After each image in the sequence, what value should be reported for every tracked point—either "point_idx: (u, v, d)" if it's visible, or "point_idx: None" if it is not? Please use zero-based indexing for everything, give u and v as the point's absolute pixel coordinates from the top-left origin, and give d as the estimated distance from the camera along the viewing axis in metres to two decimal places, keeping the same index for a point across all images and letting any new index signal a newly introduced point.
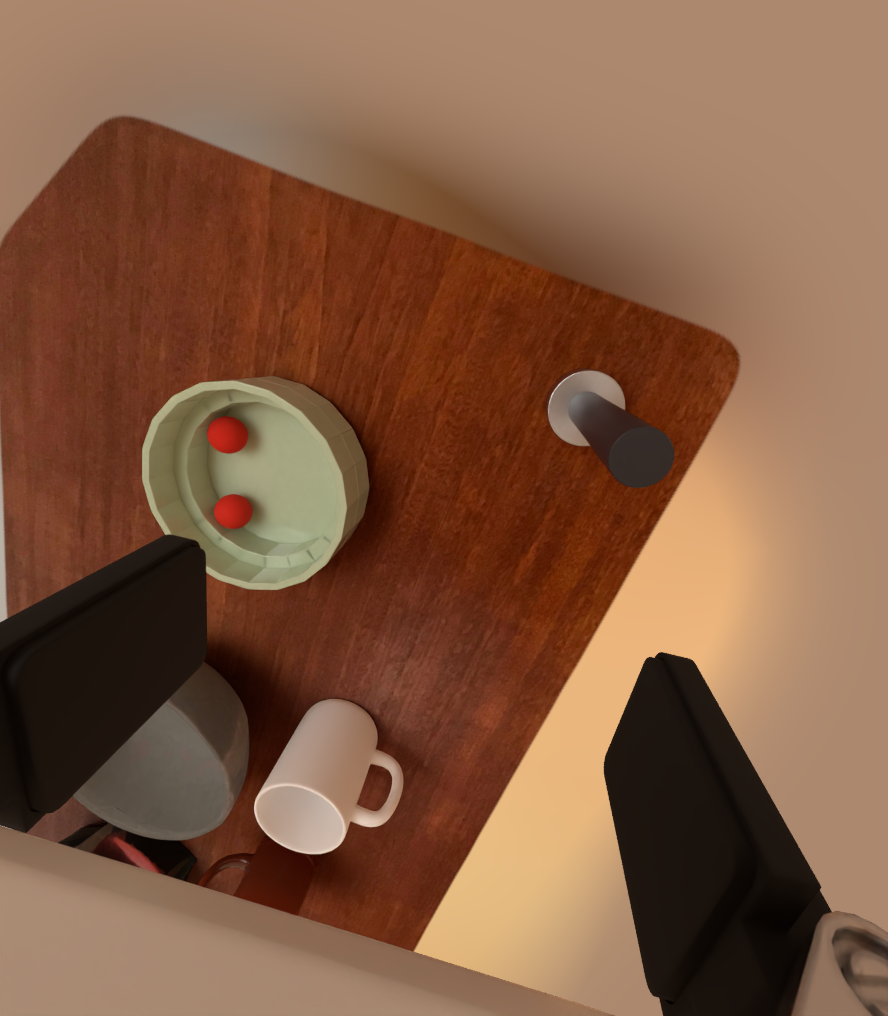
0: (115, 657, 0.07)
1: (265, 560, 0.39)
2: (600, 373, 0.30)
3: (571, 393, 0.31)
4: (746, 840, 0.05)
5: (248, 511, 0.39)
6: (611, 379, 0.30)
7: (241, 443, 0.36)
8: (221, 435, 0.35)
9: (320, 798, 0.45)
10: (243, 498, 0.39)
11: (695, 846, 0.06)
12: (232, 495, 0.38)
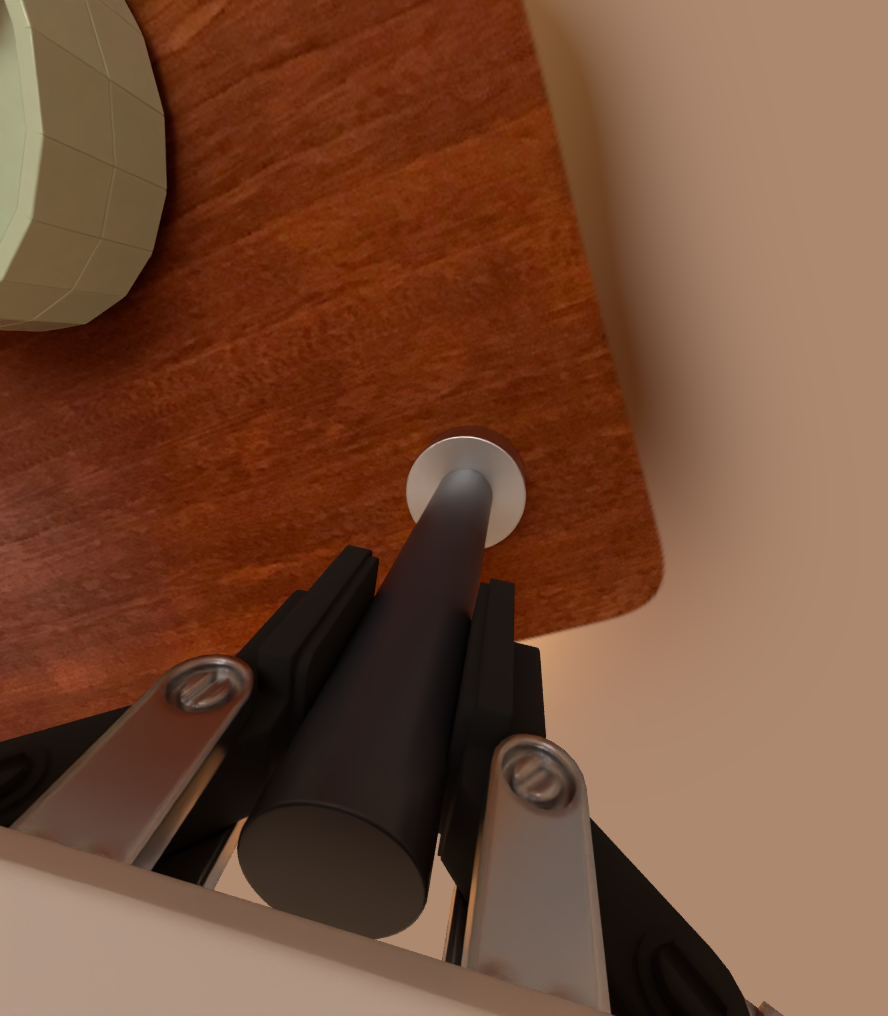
0: (337, 656, 0.08)
1: None
2: (519, 475, 0.19)
3: (468, 462, 0.19)
4: (476, 690, 0.07)
5: None
6: (523, 494, 0.19)
7: None
8: None
9: None
10: None
11: (458, 707, 0.07)
12: None
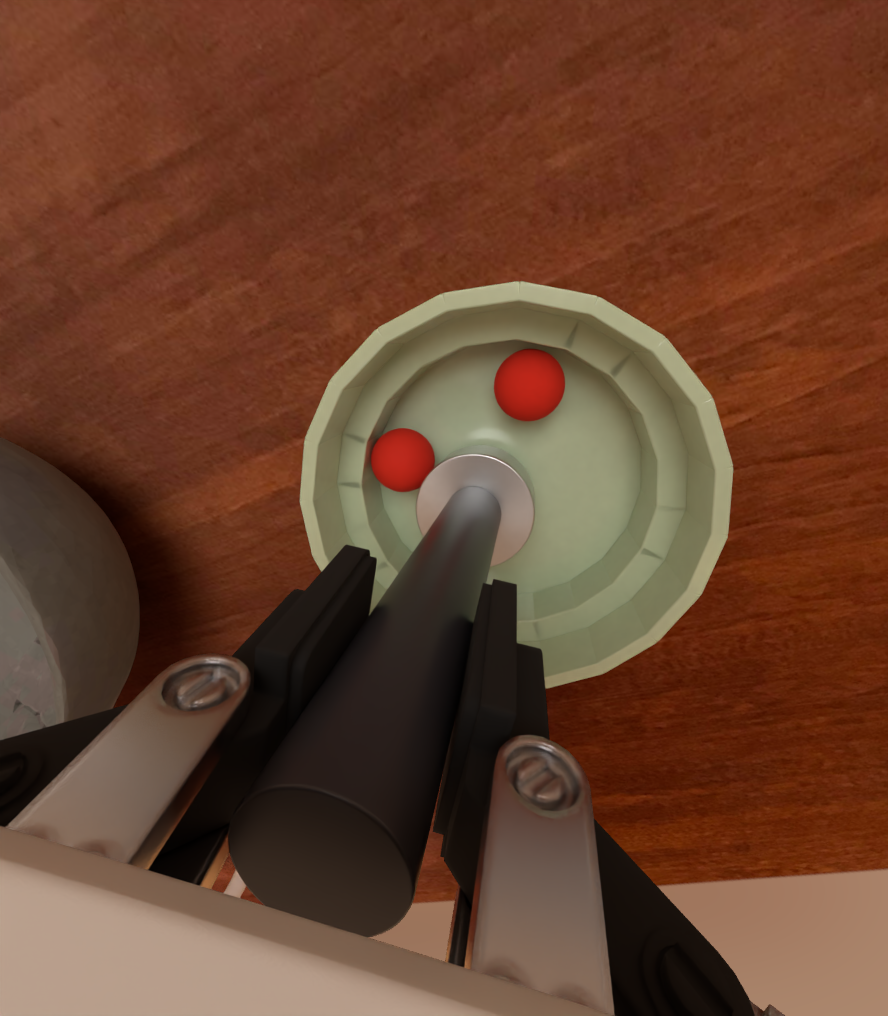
0: (334, 655, 0.08)
1: (383, 567, 0.22)
2: (526, 488, 0.19)
3: (473, 479, 0.19)
4: (479, 691, 0.07)
5: None
6: (531, 507, 0.19)
7: None
8: (540, 392, 0.18)
9: None
10: (434, 458, 0.21)
11: (461, 708, 0.07)
12: (427, 442, 0.21)
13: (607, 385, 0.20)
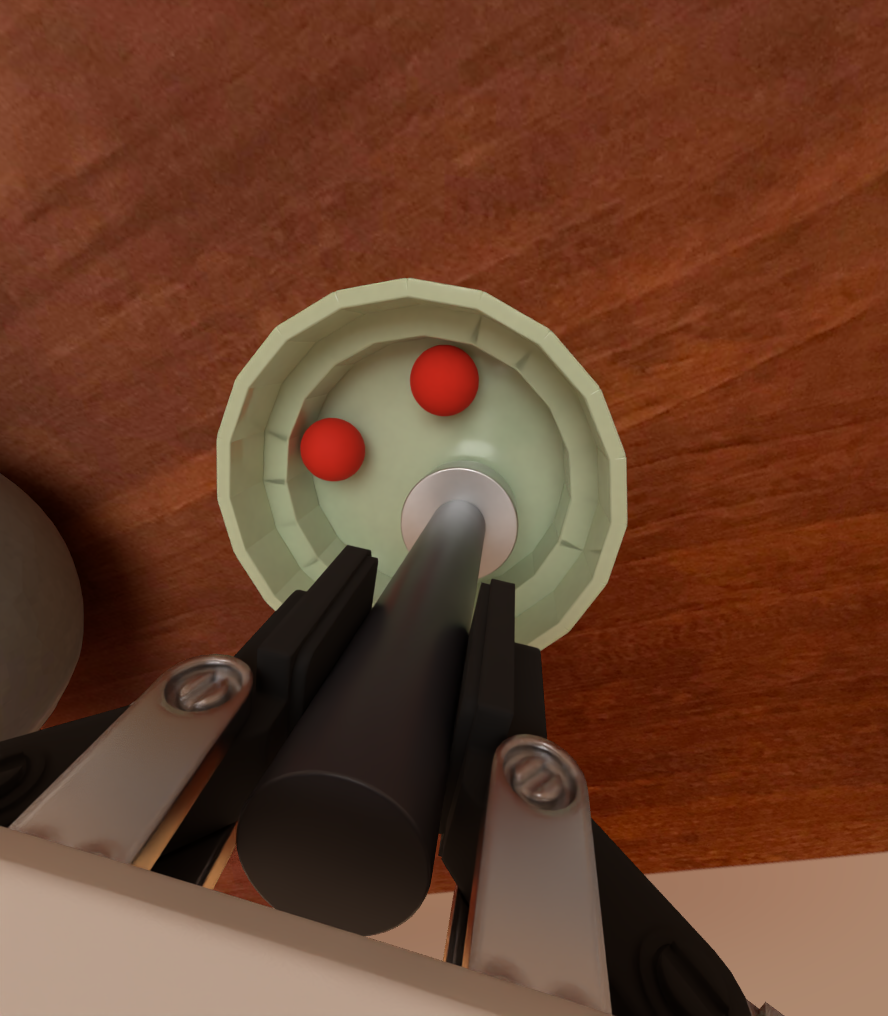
0: (336, 656, 0.08)
1: (313, 563, 0.22)
2: (505, 494, 0.19)
3: (453, 493, 0.20)
4: (477, 691, 0.07)
5: (356, 470, 0.22)
6: (513, 512, 0.19)
7: (451, 415, 0.20)
8: (449, 387, 0.18)
9: None
10: None
11: (458, 707, 0.07)
12: (356, 429, 0.21)
13: (525, 379, 0.21)
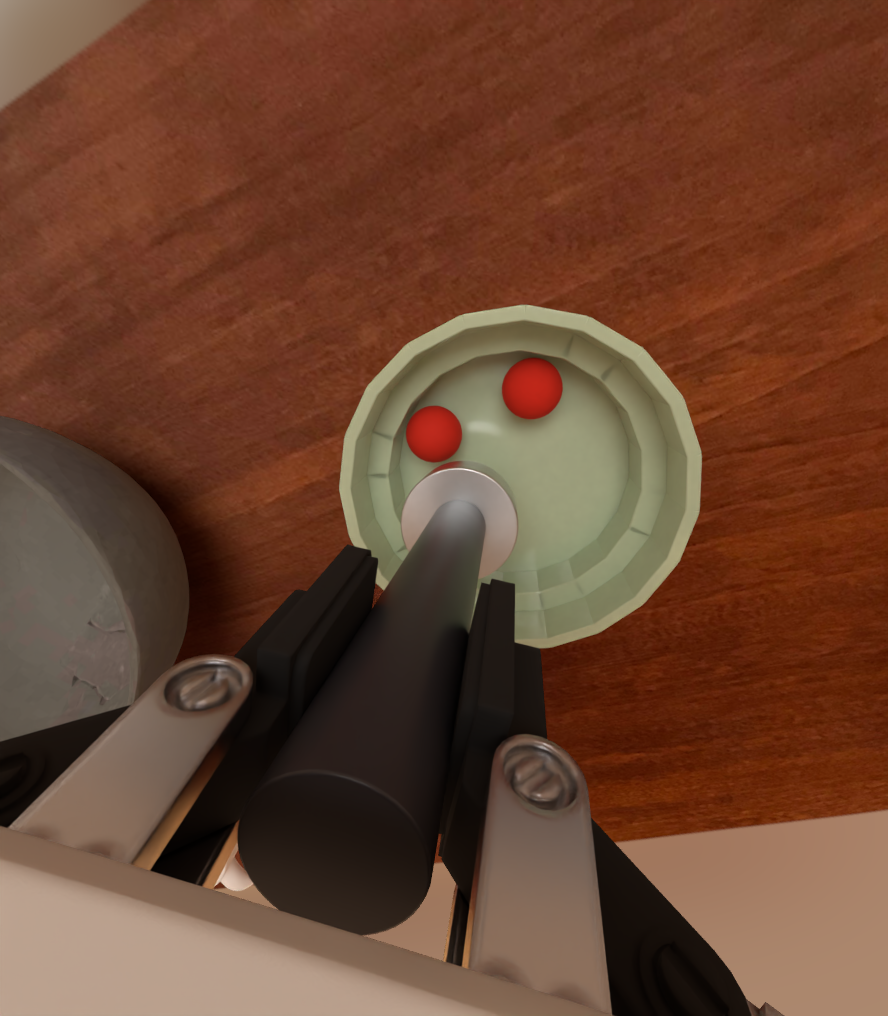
0: (336, 656, 0.08)
1: (406, 548, 0.25)
2: (505, 494, 0.19)
3: (453, 493, 0.20)
4: (477, 690, 0.07)
5: (453, 447, 0.23)
6: (513, 512, 0.19)
7: (537, 418, 0.23)
8: (542, 395, 0.21)
9: None
10: None
11: (458, 707, 0.07)
12: None
13: (598, 388, 0.24)
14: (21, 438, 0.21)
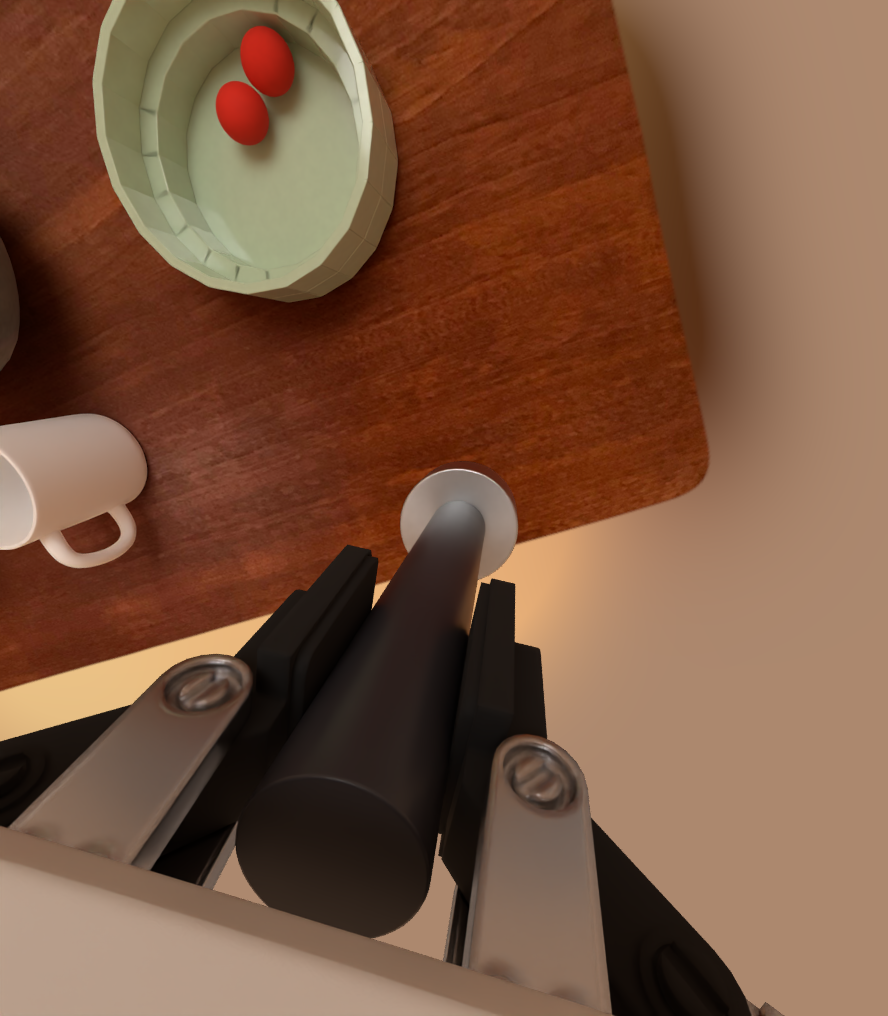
0: (336, 656, 0.08)
1: (184, 229, 0.29)
2: (505, 495, 0.19)
3: (453, 494, 0.20)
4: (477, 691, 0.07)
5: None
6: (513, 513, 0.19)
7: (273, 88, 0.27)
8: (262, 50, 0.25)
9: (23, 497, 0.36)
10: None
11: (458, 707, 0.07)
12: None
13: (334, 71, 0.28)
14: None
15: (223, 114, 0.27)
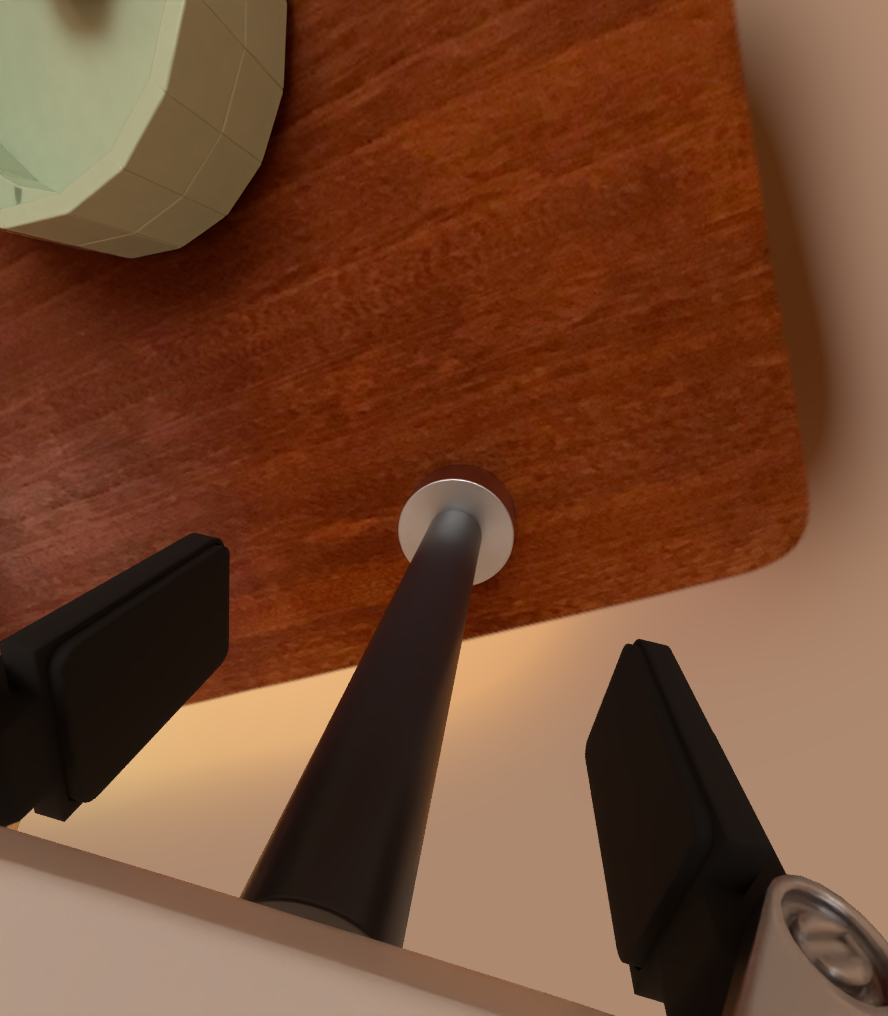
0: (147, 652, 0.08)
1: None
2: (501, 505, 0.19)
3: (449, 503, 0.20)
4: (707, 810, 0.05)
5: None
6: (509, 522, 0.19)
7: None
8: None
9: None
10: None
11: (661, 818, 0.06)
12: None
13: None
14: None
15: None
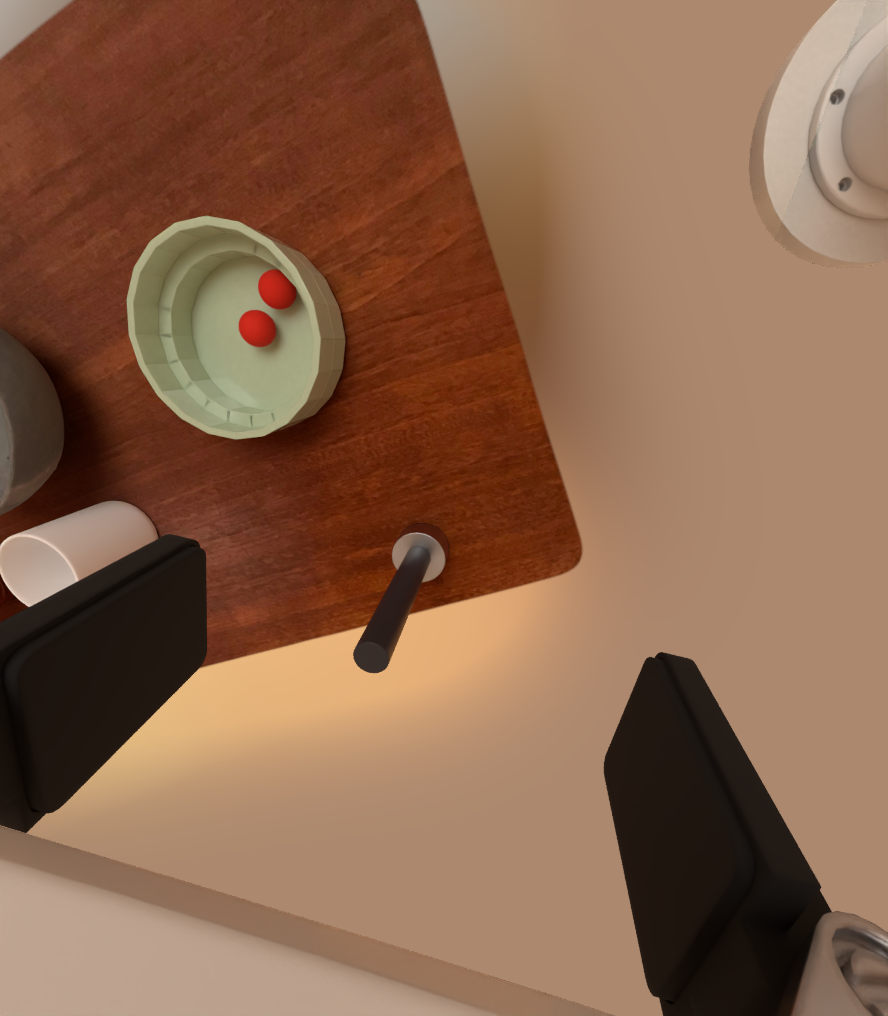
0: (115, 657, 0.07)
1: (190, 385, 0.40)
2: (438, 544, 0.42)
3: (415, 543, 0.43)
4: (746, 840, 0.05)
5: None
6: (442, 552, 0.43)
7: None
8: (295, 296, 0.38)
9: (63, 569, 0.47)
10: None
11: (694, 846, 0.06)
12: (243, 324, 0.38)
13: None
14: None
15: (267, 345, 0.39)
